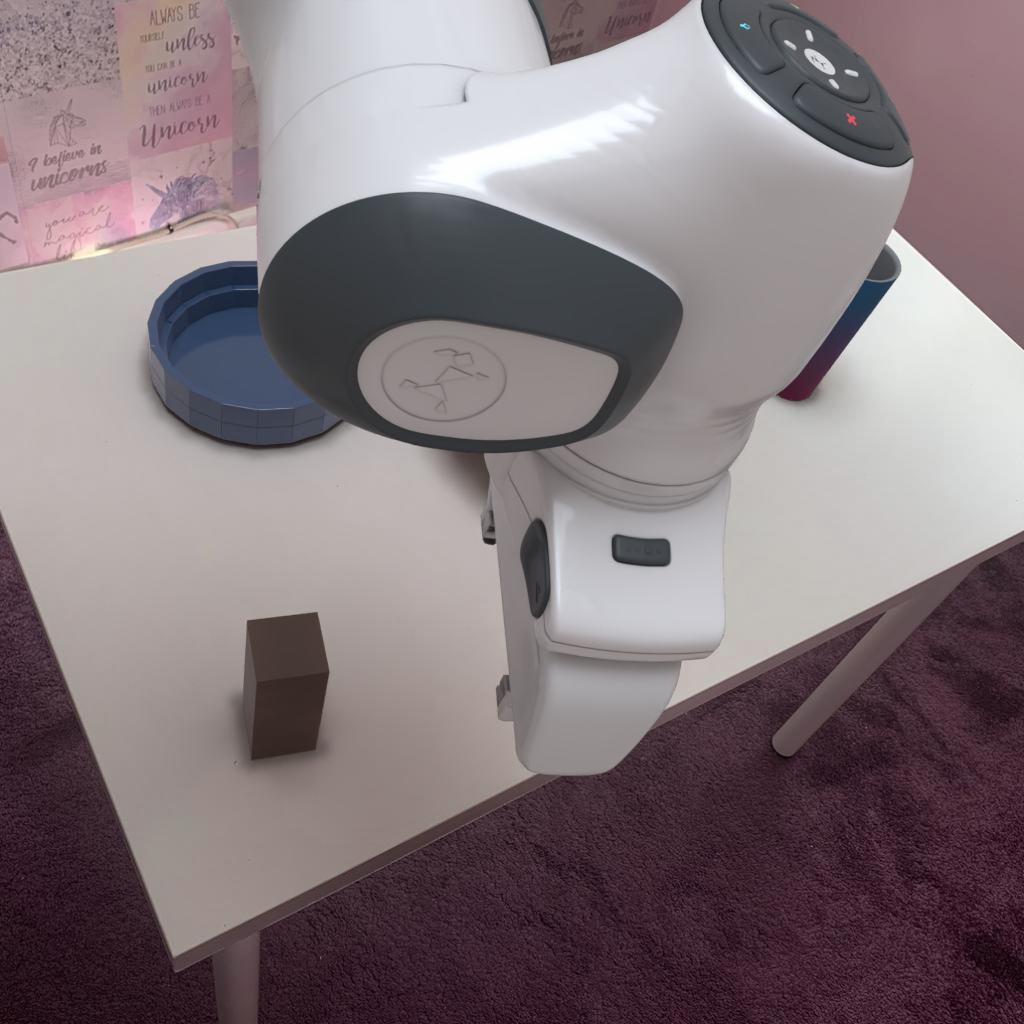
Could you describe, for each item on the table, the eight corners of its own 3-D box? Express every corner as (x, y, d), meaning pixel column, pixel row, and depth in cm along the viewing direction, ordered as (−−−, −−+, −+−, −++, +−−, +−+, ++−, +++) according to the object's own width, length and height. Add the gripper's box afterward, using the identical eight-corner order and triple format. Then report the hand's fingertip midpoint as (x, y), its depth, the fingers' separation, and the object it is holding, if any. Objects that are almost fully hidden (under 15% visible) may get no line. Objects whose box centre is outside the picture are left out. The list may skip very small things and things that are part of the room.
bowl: (160, 457, 78) (158, 415, 74) (142, 304, 87) (139, 261, 83) (379, 442, 83) (386, 403, 80) (341, 300, 92) (346, 259, 89)
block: (250, 760, 65) (256, 682, 57) (242, 702, 67) (246, 619, 60) (315, 750, 66) (329, 672, 59) (305, 693, 69) (317, 611, 61)
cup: (739, 374, 98) (809, 245, 87) (777, 345, 102) (849, 218, 90) (797, 419, 96) (877, 292, 85) (834, 387, 100) (915, 263, 88)
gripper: (502, 236, 45) (430, 438, 56) (557, 675, 33) (452, 823, 44) (640, 260, 47) (544, 451, 57) (736, 684, 35) (593, 824, 46)
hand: (504, 615), depth 51 cm, fingers open, 8 cm apart
